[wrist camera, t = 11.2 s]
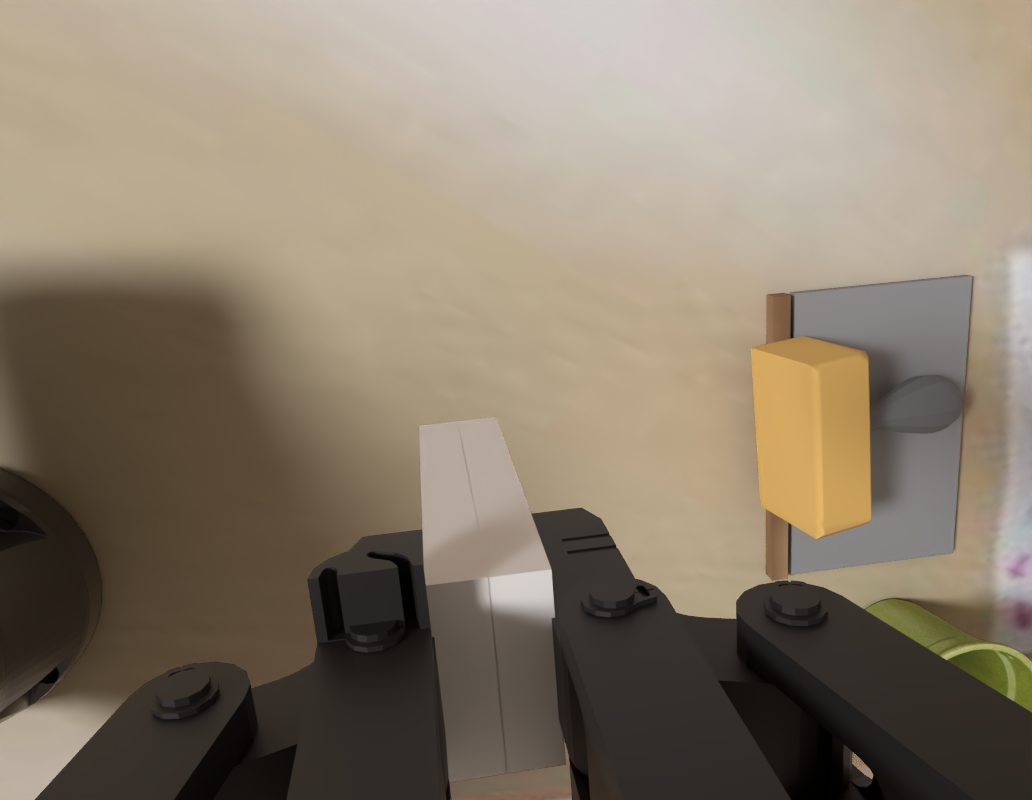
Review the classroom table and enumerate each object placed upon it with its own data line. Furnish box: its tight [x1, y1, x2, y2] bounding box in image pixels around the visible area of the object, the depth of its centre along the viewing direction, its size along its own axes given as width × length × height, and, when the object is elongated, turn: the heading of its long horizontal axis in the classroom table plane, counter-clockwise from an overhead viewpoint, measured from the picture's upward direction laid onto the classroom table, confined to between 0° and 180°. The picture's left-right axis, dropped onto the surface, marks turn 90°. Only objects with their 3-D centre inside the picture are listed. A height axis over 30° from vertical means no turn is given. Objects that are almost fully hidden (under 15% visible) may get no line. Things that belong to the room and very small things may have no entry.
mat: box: [788, 275, 972, 575], centre depth 50 cm, size 11×18×1 cm, turn 5°
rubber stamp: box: [751, 336, 964, 539], centre depth 47 cm, size 10×6×12 cm
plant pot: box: [865, 599, 1032, 712], centre depth 51 cm, size 9×9×9 cm
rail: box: [766, 293, 791, 581], centre depth 50 cm, size 1×18×1 cm, turn 4°
